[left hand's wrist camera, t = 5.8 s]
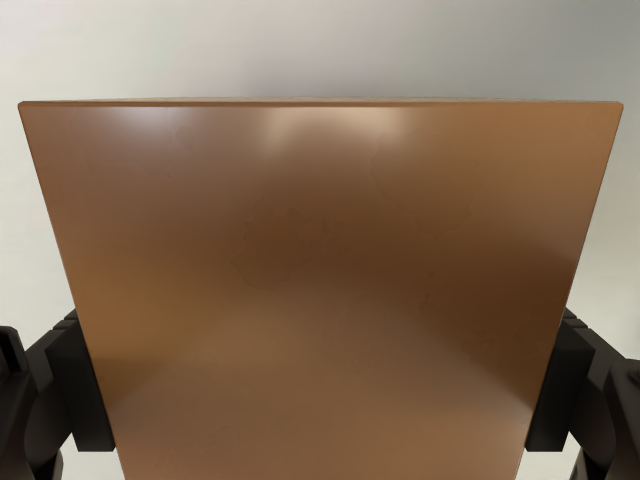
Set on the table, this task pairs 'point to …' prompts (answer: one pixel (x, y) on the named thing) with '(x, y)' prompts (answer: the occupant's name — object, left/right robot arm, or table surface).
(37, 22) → the table surface
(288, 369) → the slab
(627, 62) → the table surface
